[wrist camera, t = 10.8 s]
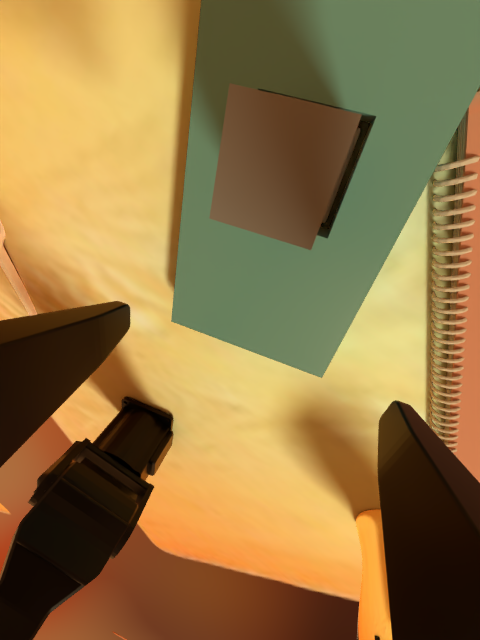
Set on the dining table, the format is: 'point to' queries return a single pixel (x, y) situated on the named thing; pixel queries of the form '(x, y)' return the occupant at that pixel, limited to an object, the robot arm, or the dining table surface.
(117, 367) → the dining table surface
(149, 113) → the dining table surface
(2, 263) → the fork
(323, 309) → the green slotted board
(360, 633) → the beer glass
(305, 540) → the dining table surface
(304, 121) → the block
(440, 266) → the notebook
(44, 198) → the dining table surface
